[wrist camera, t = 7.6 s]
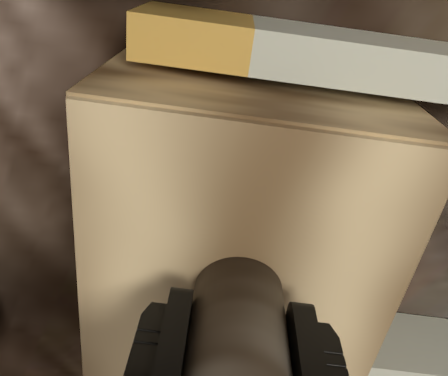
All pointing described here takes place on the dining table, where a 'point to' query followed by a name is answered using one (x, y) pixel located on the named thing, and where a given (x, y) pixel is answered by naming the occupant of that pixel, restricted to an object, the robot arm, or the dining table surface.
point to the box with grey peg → (245, 211)
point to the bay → (312, 76)
